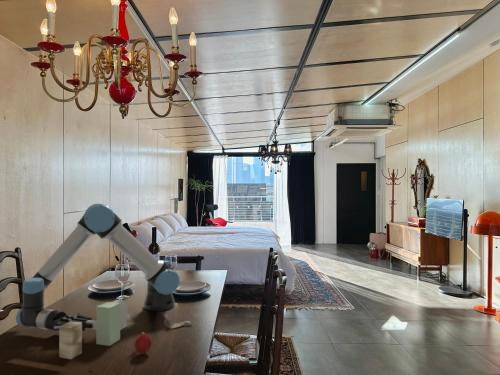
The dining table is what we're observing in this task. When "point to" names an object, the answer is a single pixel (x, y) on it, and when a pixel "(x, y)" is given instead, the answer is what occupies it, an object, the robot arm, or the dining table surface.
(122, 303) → the grey block
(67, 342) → the birch block
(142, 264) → the robot arm
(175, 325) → the jawbone
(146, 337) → the red pomegranate
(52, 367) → the dining table surface
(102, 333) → the pale green block
